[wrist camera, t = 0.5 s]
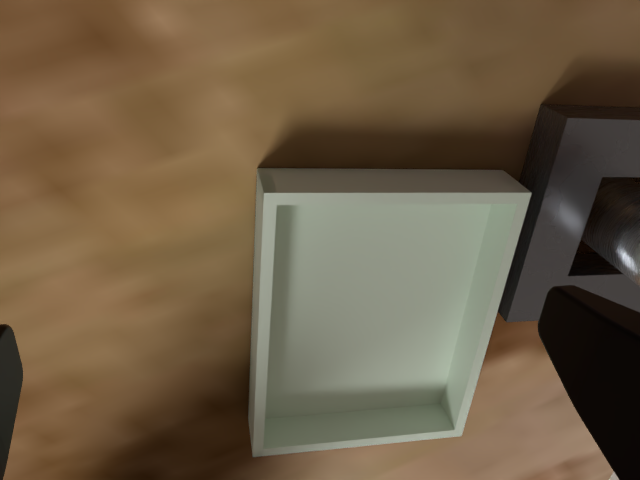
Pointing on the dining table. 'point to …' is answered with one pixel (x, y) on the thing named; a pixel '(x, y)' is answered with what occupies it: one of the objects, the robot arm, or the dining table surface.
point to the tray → (374, 301)
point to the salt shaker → (616, 225)
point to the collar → (569, 205)
